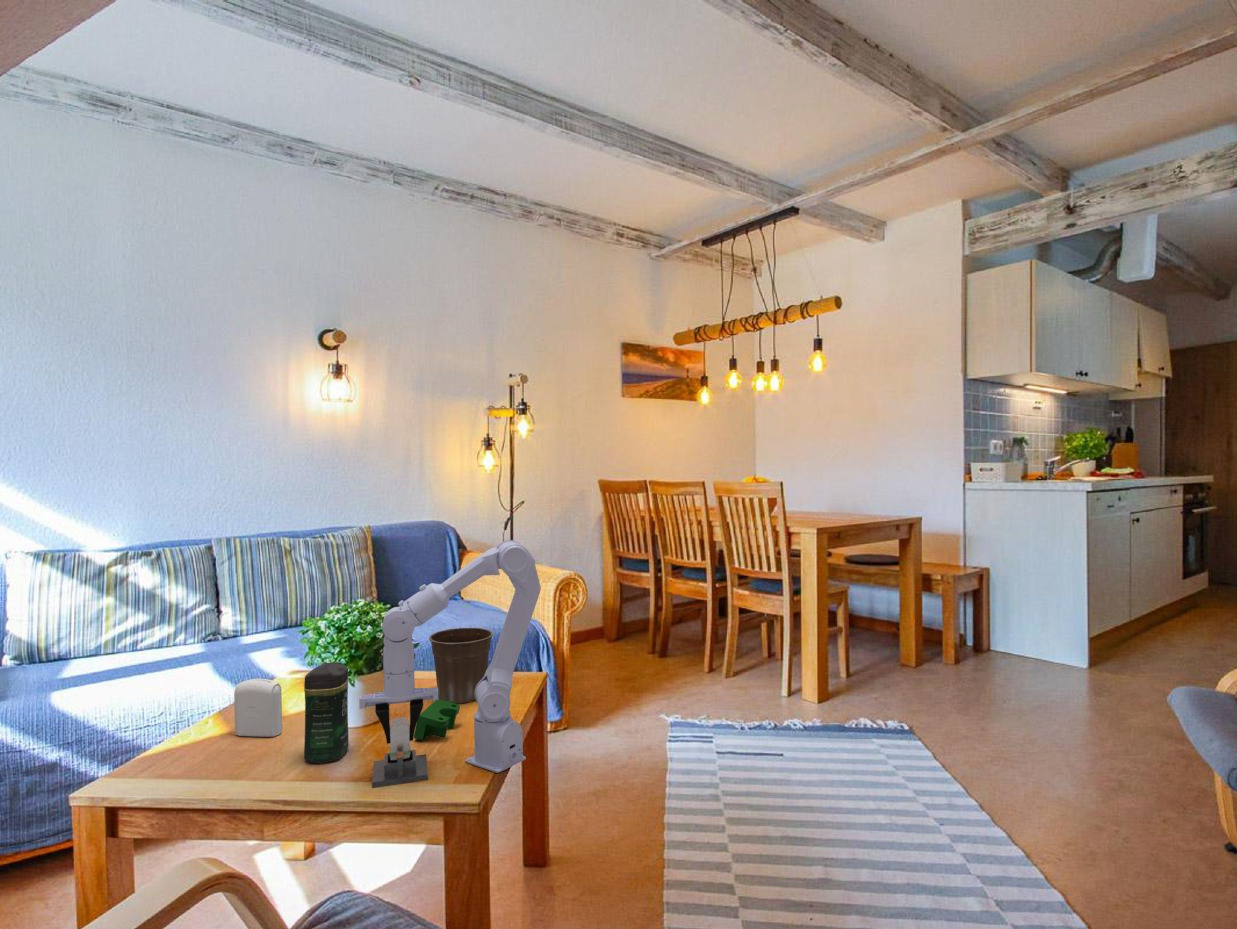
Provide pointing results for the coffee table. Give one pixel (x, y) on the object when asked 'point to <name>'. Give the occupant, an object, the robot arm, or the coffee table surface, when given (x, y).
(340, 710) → the coffee jar
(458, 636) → the plant pot
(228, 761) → the coffee table surface
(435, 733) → the clamp
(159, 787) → the coffee table surface
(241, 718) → the photo printer
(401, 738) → the pull-out drawer
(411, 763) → the grey slotted holder
